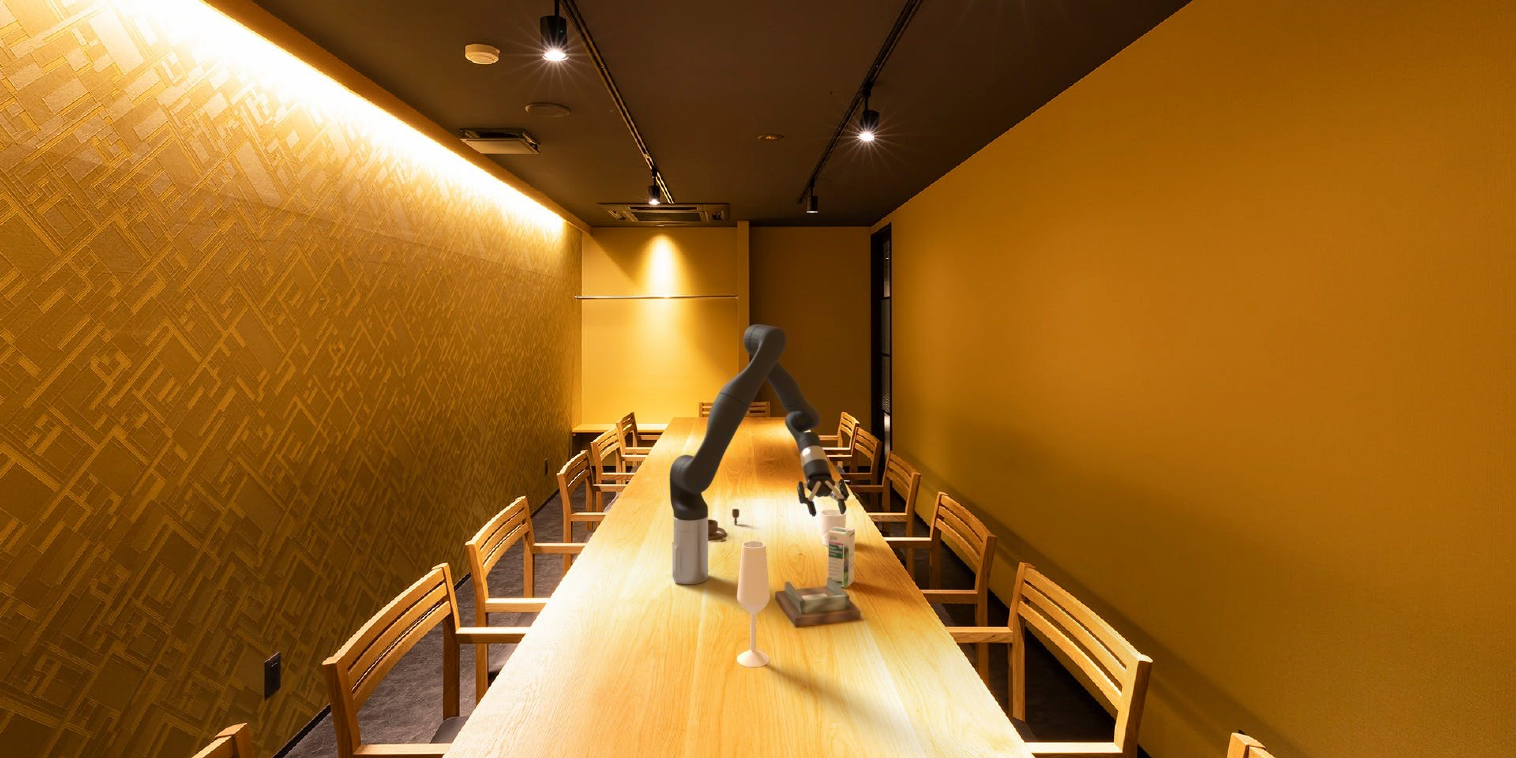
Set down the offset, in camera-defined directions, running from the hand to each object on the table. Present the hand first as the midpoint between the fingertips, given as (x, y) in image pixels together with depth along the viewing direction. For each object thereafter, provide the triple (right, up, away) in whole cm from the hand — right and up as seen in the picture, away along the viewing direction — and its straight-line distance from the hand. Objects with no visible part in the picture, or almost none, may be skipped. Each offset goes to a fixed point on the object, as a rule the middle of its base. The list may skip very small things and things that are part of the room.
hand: (829, 514), depth 187 cm
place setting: (-33, -14, +35) cm, 50 cm away
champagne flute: (-21, -20, -49) cm, 57 cm away
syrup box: (+2, -17, -8) cm, 19 cm away
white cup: (+4, -15, +25) cm, 29 cm away
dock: (-6, -18, -24) cm, 31 cm away
